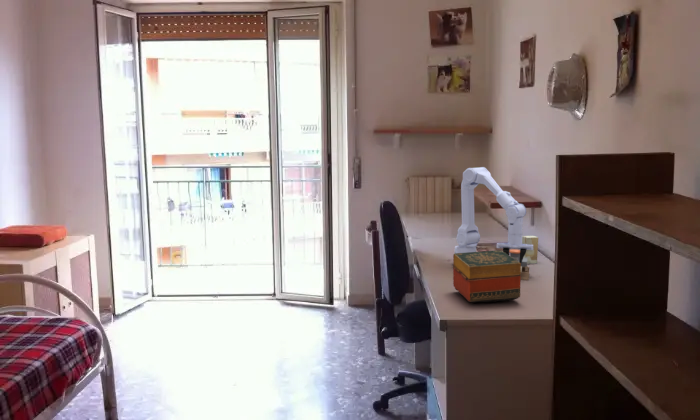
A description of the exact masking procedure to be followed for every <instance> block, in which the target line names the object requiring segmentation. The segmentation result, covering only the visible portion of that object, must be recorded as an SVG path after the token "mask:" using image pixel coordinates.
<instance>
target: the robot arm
mask: <svg viewBox="0 0 700 420" xmlns="http://www.w3.org/2000/svg"><path fill="white" fill-rule="evenodd" d="M479 184H480V185H483V186H486V188H487V189H489V191H490V192H491V193H493V194H494V196H496V198H495V199H496V202H497V203H498V204H499V206H501V208H502V209H503V210H504V211H505V215H506V218H507V222H508V229H507V242H497V243H496V249H502V251H503V252H504V253H506V254H507V255H509V256H510V252H509V250H511V249H517V250H520V263H522V260H523V257H524V255H525V253H526V250H533V245H529V244H522V236H523V230H524V229H523V227H524V217H526V214H527V208H526V206H525V204H523V203H519V202H518V201H517V200H516V199H515V198H514V197H513V196H512V195H511V192H510V191H507V190H503V189H502V188H501V186H499V184H498V183H497V182H496V180H495V179H494V178H493V177H492V174H491V172H490V171H489V170H488V169H487V168H486V167H485V166H480V167H468V168H466V169H465V170H464V171H463V172H462V180H461V185H460V188H461V189H460V193H461V194H460V197H461V200H460V201H461V202H460V203H461V225H460V226H459V227H458V229H457V234H456V237H455V239H456V243H457V245H455V246H454V254H455V253H468V252H477V246H478V244H479V242H480V241H481V235H480V232H479V227H478V226H477V225H476V222H475V189H476V187H478V185H479Z"/></svg>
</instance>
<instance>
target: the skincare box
mask: <svg viewBox="0 0 700 420" xmlns="http://www.w3.org/2000/svg"><path fill="white" fill-rule="evenodd" d="M522 244H529V245H533V250H526V253H525V255H524V257H523V258H528V259H527V265H528V264H529V265H530V264H531V265H533V264H535V263H536V264H537V263H538V252H539V251H538V250H539V236H535V235H522ZM536 264H535V265H536Z"/></svg>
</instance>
